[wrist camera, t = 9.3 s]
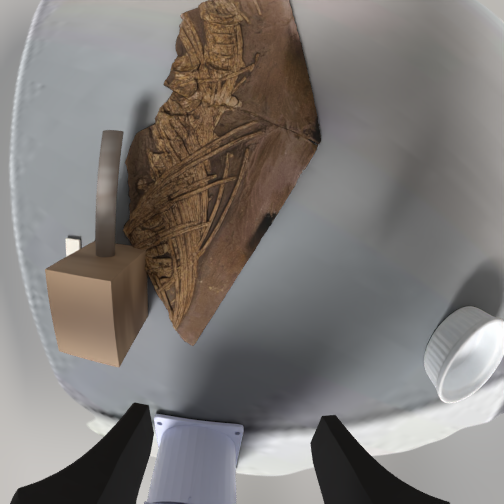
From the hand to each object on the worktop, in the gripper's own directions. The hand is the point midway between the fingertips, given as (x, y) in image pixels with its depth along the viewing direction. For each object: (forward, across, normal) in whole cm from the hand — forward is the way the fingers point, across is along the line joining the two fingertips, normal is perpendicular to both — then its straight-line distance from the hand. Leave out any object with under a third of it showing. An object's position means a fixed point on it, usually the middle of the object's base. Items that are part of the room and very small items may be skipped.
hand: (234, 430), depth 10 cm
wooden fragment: (+10, +2, -11) cm, 15 cm away
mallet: (+9, +8, -6) cm, 14 cm away
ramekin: (+10, -21, +2) cm, 23 cm away
